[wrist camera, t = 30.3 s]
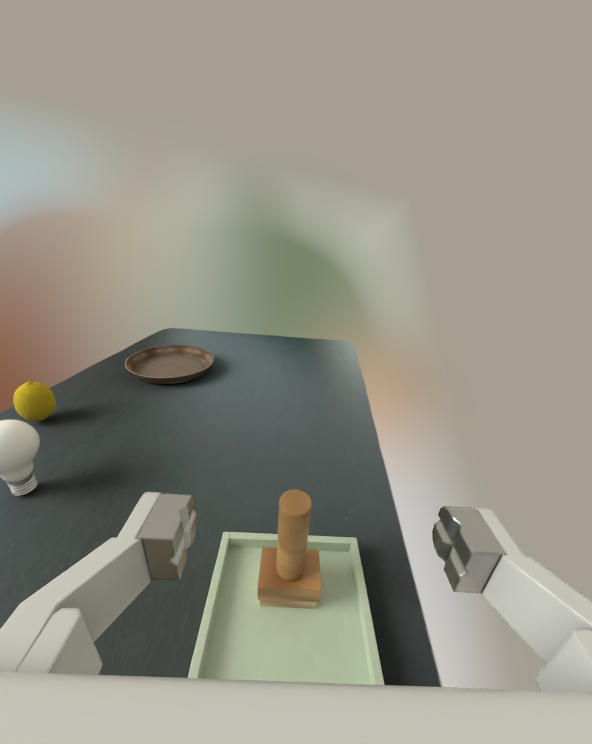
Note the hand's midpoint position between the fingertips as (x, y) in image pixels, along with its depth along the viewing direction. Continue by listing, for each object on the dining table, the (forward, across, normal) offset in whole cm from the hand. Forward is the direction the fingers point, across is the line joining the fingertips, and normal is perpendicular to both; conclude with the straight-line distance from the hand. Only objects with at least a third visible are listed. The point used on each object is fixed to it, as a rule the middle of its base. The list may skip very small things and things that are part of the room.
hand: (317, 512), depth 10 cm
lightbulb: (+23, +36, +26) cm, 50 cm away
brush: (+12, 0, +25) cm, 28 cm away
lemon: (+39, +46, +26) cm, 66 cm away
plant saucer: (+63, +31, +26) cm, 75 cm away
